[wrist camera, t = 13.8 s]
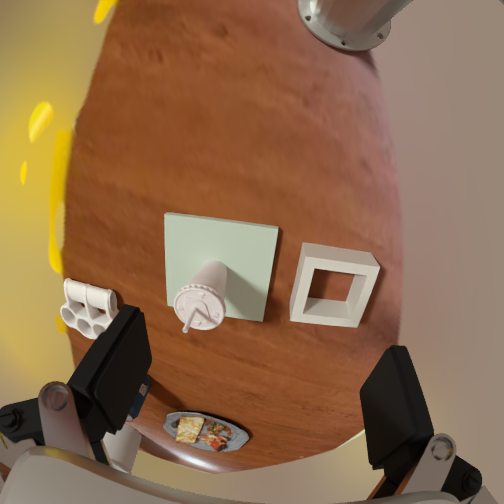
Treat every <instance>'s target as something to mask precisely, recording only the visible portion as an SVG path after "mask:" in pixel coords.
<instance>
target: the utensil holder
mask: <svg viewBox="0 0 504 504" xmlns="http://www.w3.org/2000/svg"><path fill="white" fill-rule="evenodd" d="M141 439H142V436H141V434H140V433H139V432H138V431H137V430H135V429H134V428H132V427H131V426H129V425H127V424H125V423H124V426H123V428H122V429H121V430H120V431H118V430H117V432H116V435H113V434H110V433H108V432H106V434H105V436H104V438H103V441H104V444H105V447H106V449H107V452H108V455H109V457H110V460H111V462H112V465H113V467H114V468H115V469H117V470H120V471H122V472H125V473H128V474H131V470H132V467H133V464H134V461H135V457H136V454H137V452H138V449H139V445H140V442H141Z"/></svg>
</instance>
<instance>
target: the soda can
mask: <svg viewBox="0 0 504 504" xmlns="http://www.w3.org/2000/svg"><path fill="white" fill-rule="evenodd" d="M150 386H151V384H150V379H149V377H148V376H147V375H146V376H145V378H144V381H143V383H142V385H141V387H140V389H139V392H138V394H137V396H136V398H135V400H134V403H133V405H132V407H131V410H130V412H129V414H128V416H127V419H126V421H127V422H132V421H133V419H135V418H136V417H137V416H138V414H139V412H140V410H141V407H142V405H143V403H144V400H145V398H146V396H147V393H148V391H149V389H150Z"/></svg>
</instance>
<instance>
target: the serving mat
mask: <svg viewBox="0 0 504 504" xmlns="http://www.w3.org/2000/svg"><path fill="white" fill-rule="evenodd" d="M277 234H278V227H277V226H271V225H264V224H256V223H249V222H242V221H235V220H227V219H219V218H212V217H204V216H196V215H187V214H179V213H170V212H167V213H166V214H165V264H166V285H167V301H168V306H173V307H174V299H175V297H176V295H177V293H178V291H179V290H180V289H181V288H182V287H184V286H186V285H187V284H188V283H189V282H190V281H191V279H192V278H193V277H194V276H195V275H196V274H197V272H198V271H199V270H200V269H201V268H202V267H203V265H204V264H205V263H206V262H207V261H210V260H218V261H220V262H222V263H223V264H224V265H225V266H226V268H227V280H226V290H225V301H224V302H225V305H226V313H225V316H228V317H234V318H241V319H247V320H254V321H261V322H263V316H264V311H265V305H266V300H267V294H268V288H269V282H270V277H271V271H272V265H273V259H274V253H275V247H276V241H277Z"/></svg>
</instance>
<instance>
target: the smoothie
mask: <svg viewBox="0 0 504 504" xmlns="http://www.w3.org/2000/svg"><path fill="white" fill-rule="evenodd" d="M226 280H227V268H226V266H225V265H224V264H223V263H222V262H220V261H218V260H210V261H207V262H206V263H205V264H204V265H203V267H202V268H201V269H200V270H199V271H198V272H197V274H196V275H195V276H194V277H193V278H192V279H191V281H190V282H189V283H188V284H187V285H186V286H184V287H182V288H181V289H180V290H179V291H178V293H177V295H176V297H175V299H174V310H175V312H176V314H177V316H178V317H179V319H180V320H181V321H182V322H184V323H185V326H184V328H183V330H182V331H183V332H184V333H187V332H188V329H189V327H192V328H195V329H199V330H209V329H213V328H215V327H217V326H218V325H220V323H221V322H222V321H223V318H224V316H225V313H226V305H225V302H224V301H225V290H226Z"/></svg>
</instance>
